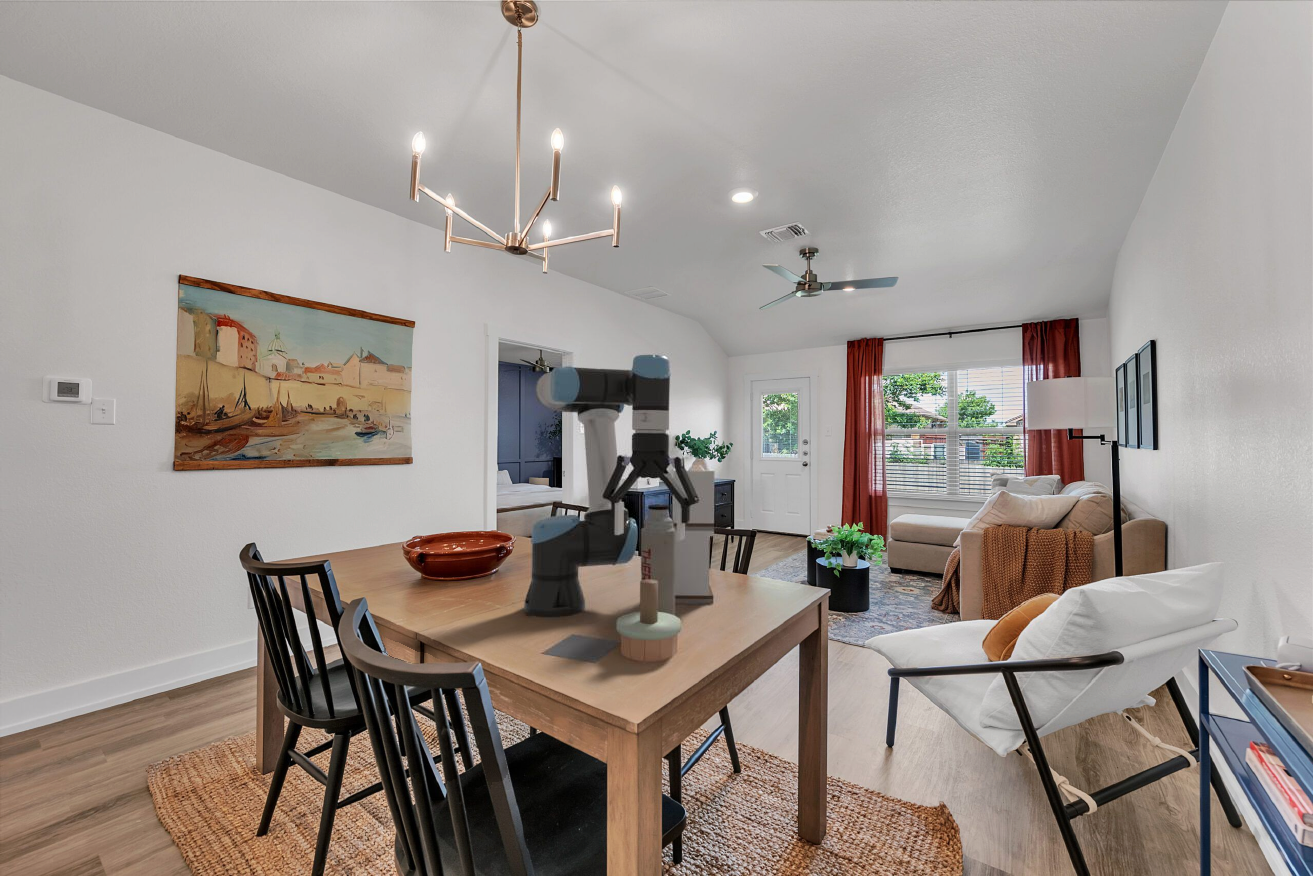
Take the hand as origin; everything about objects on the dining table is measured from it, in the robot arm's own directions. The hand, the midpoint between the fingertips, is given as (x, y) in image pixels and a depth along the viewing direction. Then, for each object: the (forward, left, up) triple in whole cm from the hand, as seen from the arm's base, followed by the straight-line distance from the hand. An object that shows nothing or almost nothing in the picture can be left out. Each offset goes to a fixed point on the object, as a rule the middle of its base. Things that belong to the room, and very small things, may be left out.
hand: (649, 536), depth 115 cm
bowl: (0, 0, -24) cm, 24 cm away
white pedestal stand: (-5, +42, -24) cm, 48 cm away
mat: (-13, -4, -24) cm, 27 cm away
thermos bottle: (-5, +17, -24) cm, 29 cm away
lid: (0, 0, -19) cm, 19 cm away
